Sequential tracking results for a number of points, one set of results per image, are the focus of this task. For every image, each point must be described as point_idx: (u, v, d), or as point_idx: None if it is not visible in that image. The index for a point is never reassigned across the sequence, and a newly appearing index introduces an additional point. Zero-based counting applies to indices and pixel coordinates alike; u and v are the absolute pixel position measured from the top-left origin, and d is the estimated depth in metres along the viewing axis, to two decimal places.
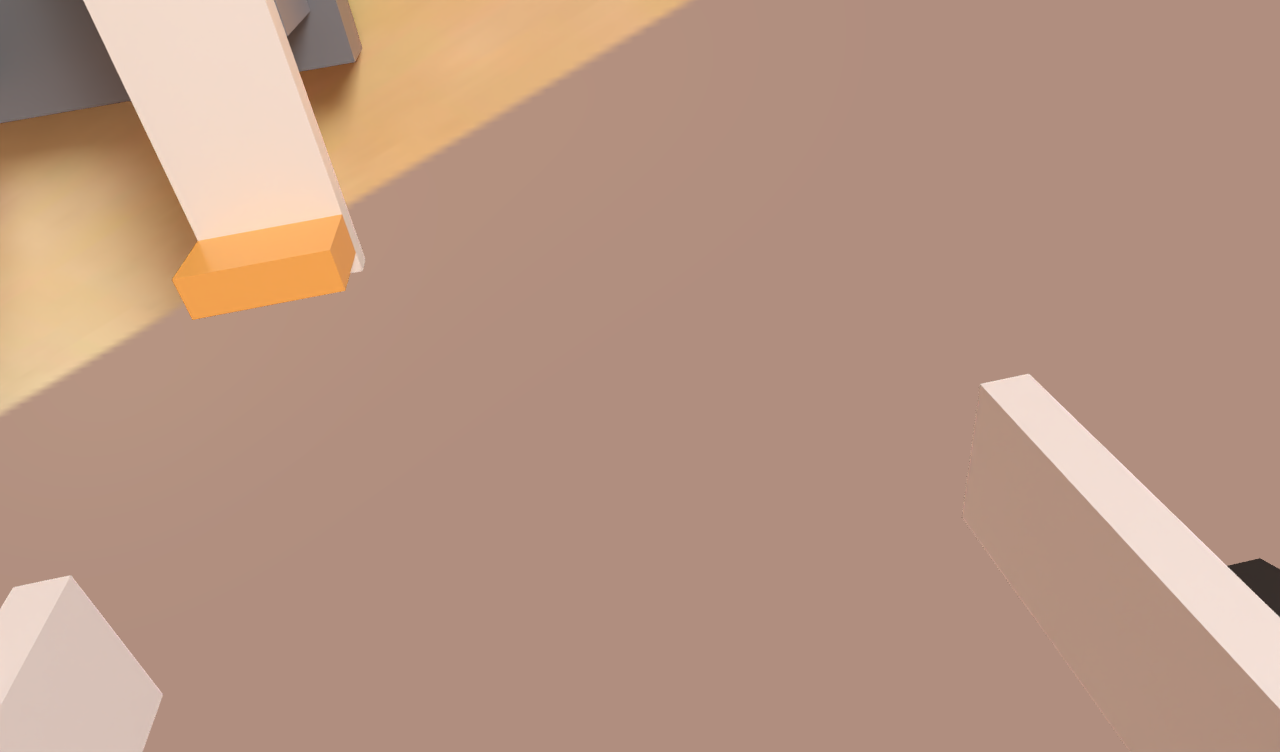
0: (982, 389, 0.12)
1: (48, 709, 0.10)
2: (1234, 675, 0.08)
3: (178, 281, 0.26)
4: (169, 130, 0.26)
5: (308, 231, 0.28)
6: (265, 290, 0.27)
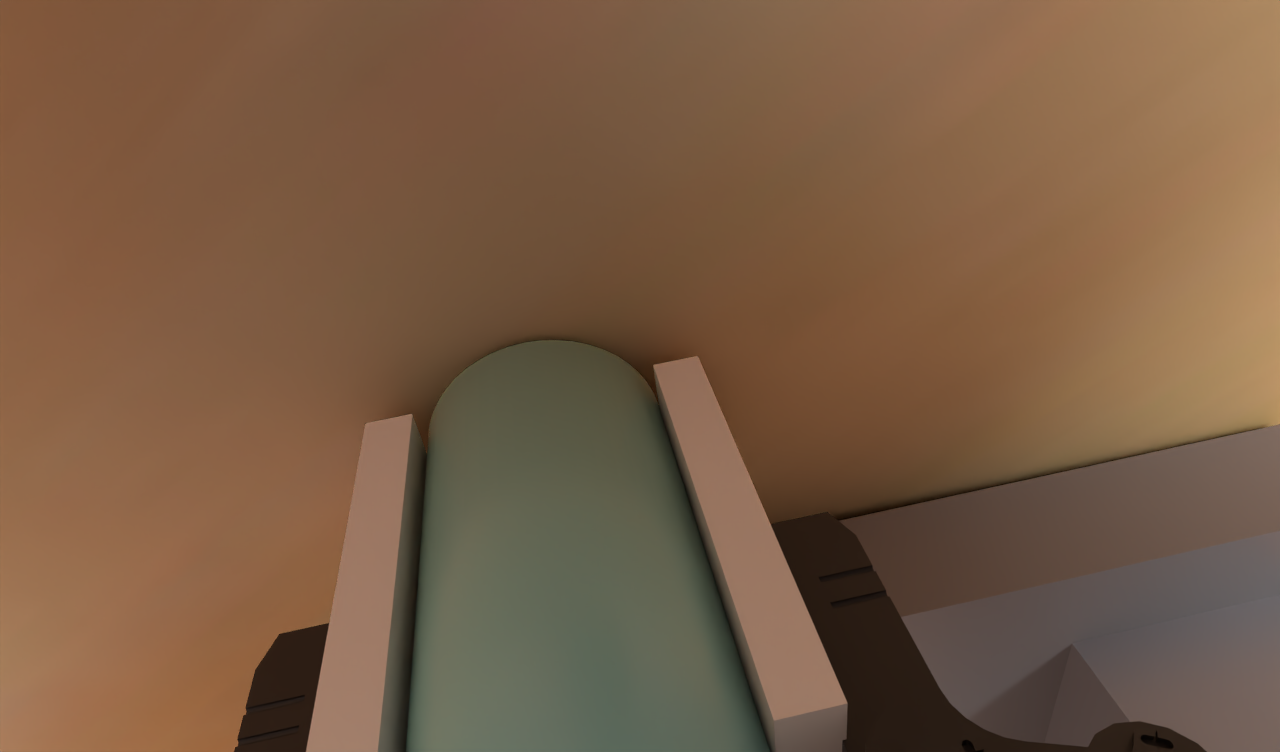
0: (654, 370, 0.13)
1: (419, 512, 0.12)
2: (731, 602, 0.09)
3: None
4: None
5: None
6: None
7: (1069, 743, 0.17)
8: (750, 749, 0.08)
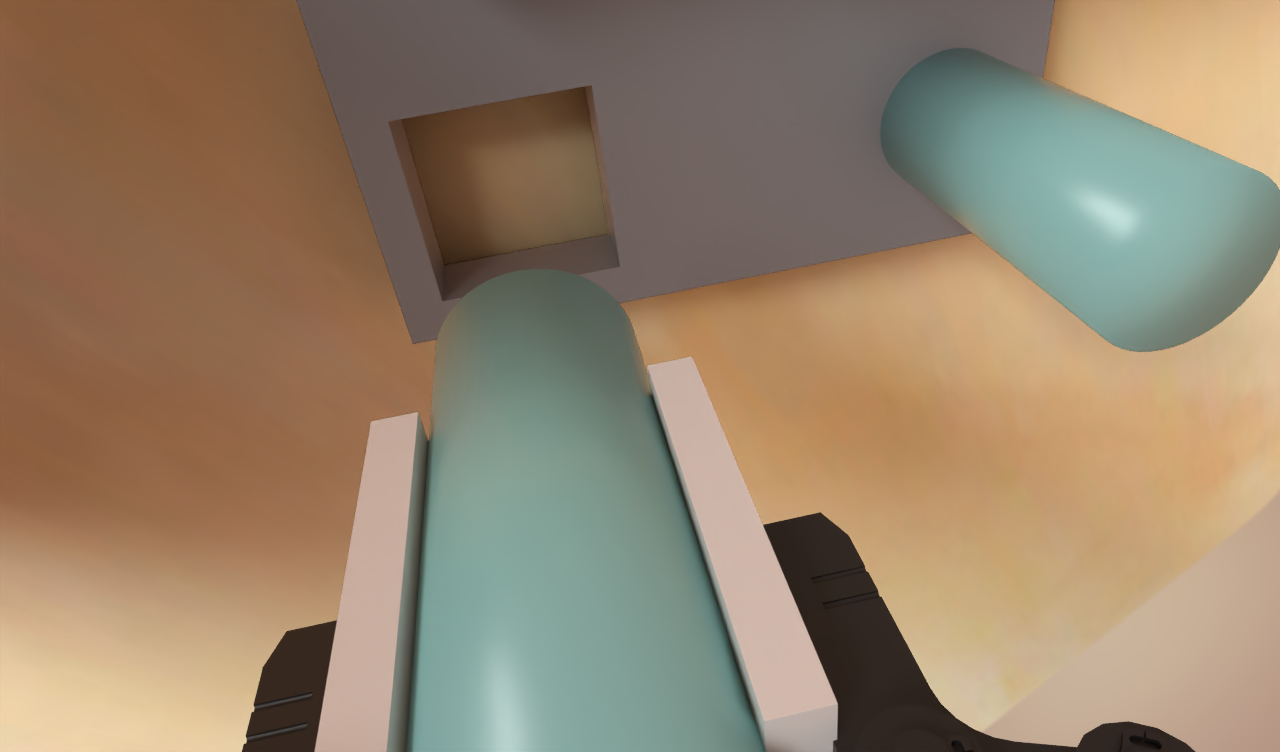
0: None
1: None
2: (722, 603, 0.09)
3: None
4: None
5: None
6: None
7: None
8: (690, 553, 0.10)
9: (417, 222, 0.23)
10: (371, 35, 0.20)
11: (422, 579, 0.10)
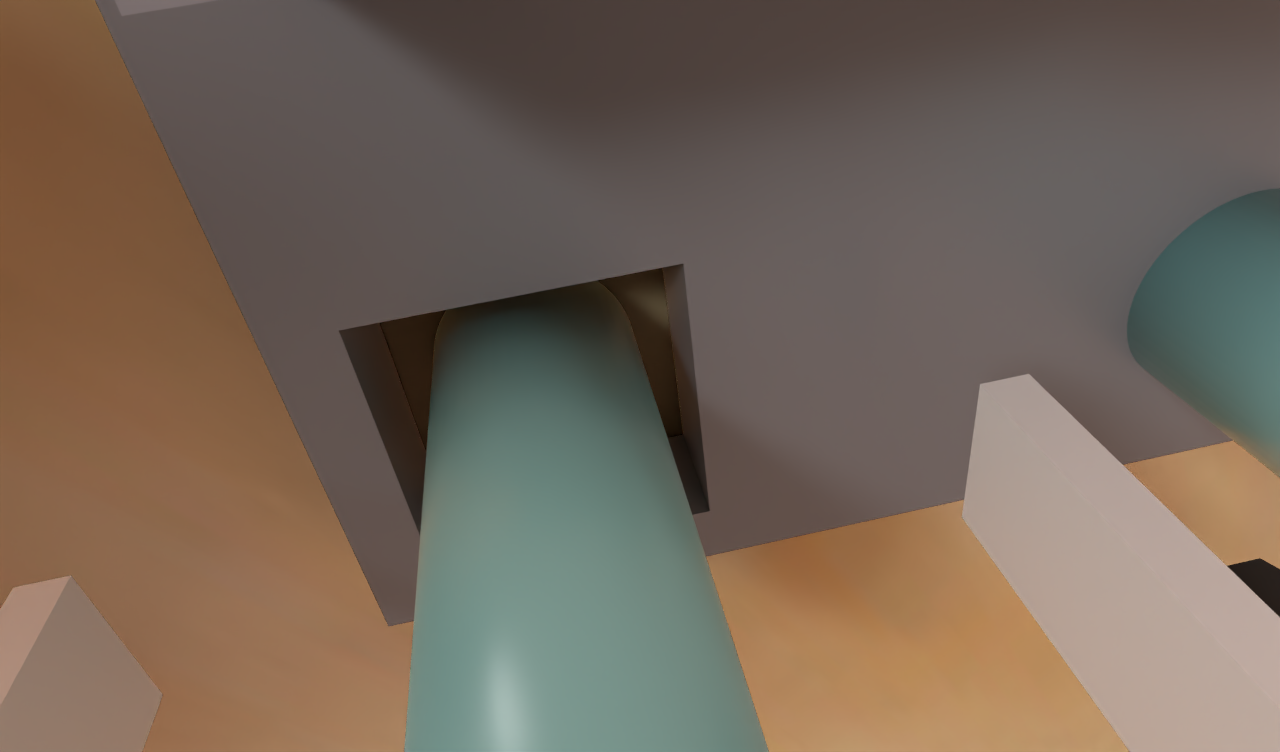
0: (982, 389, 0.12)
1: (48, 709, 0.10)
2: (1235, 675, 0.08)
3: None
4: None
5: None
6: None
7: None
8: (685, 541, 0.10)
9: (392, 470, 0.14)
10: (304, 199, 0.11)
11: (421, 567, 0.11)
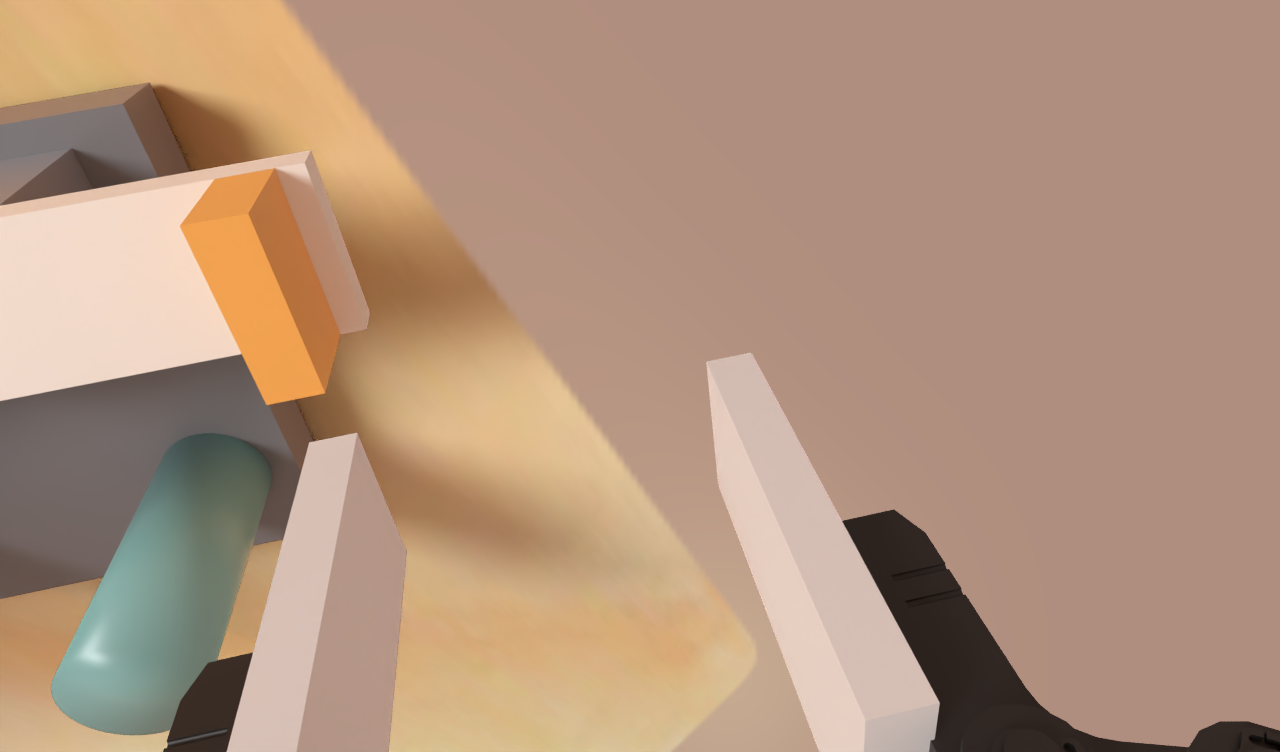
0: (707, 366, 0.13)
1: (360, 534, 0.12)
2: (808, 601, 0.09)
3: (268, 399, 0.21)
4: (141, 350, 0.23)
5: None
6: (265, 311, 0.20)
7: None
8: None
9: None
10: None
11: None
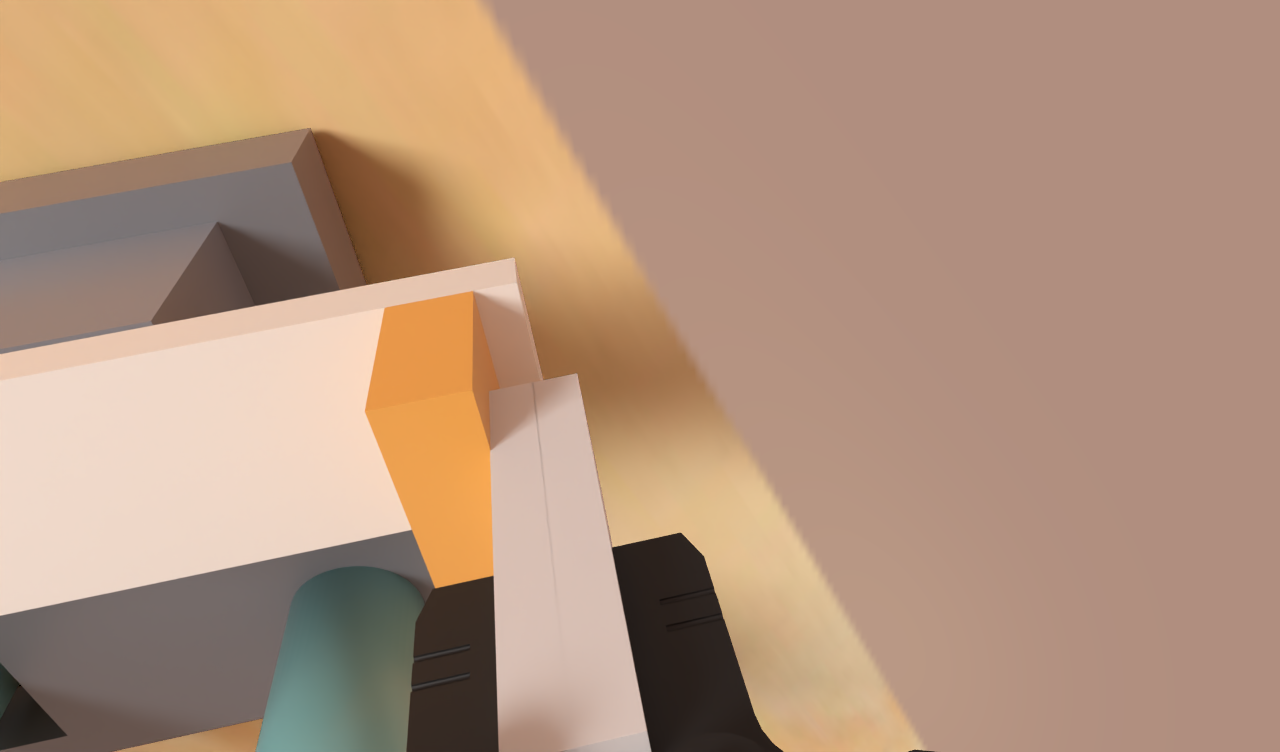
0: (533, 387, 0.13)
1: None
2: None
3: None
4: (257, 533, 0.16)
5: None
6: (474, 521, 0.13)
7: None
8: None
9: None
10: None
11: None
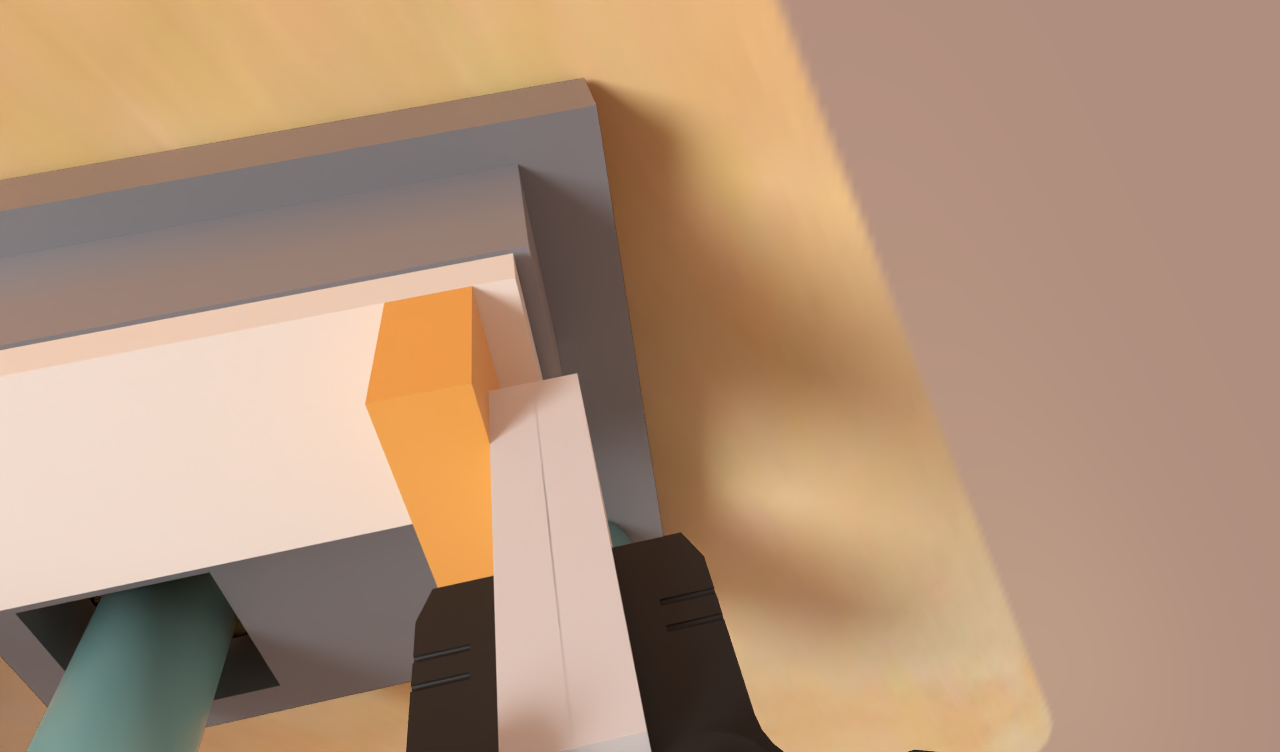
0: (532, 387, 0.13)
1: None
2: None
3: None
4: (258, 527, 0.16)
5: None
6: (473, 513, 0.13)
7: None
8: (149, 748, 0.21)
9: None
10: None
11: None
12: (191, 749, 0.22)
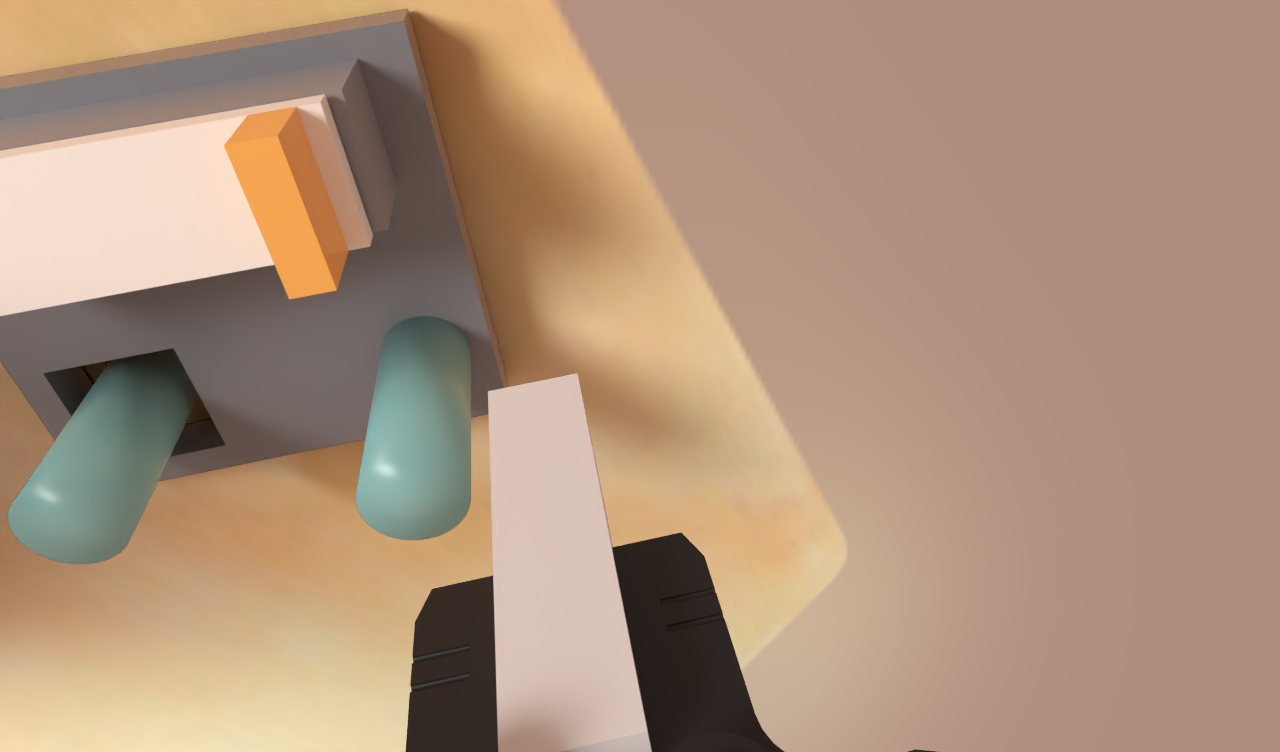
0: (533, 387, 0.13)
1: None
2: None
3: (290, 294, 0.26)
4: (185, 260, 0.28)
5: None
6: (289, 218, 0.24)
7: None
8: (132, 443, 0.33)
9: None
10: (20, 330, 0.34)
11: None
12: (160, 456, 0.34)
